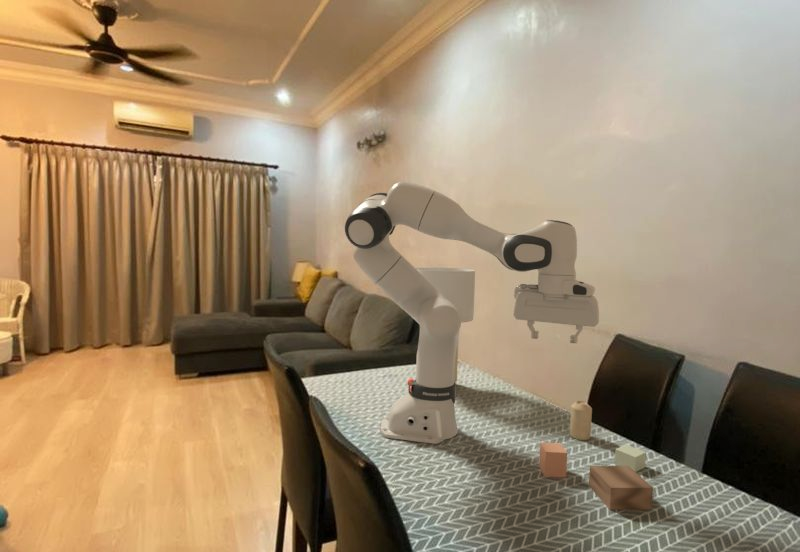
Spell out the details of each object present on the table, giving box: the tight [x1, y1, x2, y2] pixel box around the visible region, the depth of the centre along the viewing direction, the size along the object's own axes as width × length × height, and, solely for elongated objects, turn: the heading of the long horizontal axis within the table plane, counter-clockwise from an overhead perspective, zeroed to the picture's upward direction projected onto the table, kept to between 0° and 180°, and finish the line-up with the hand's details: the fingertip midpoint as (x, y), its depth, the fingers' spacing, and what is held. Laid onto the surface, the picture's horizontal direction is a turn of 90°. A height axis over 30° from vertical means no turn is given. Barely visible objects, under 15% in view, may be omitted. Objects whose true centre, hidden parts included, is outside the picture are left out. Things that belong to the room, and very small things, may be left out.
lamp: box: [415, 267, 476, 383], centre depth 169 cm, size 23×23×44 cm
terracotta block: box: [538, 442, 568, 478], centre depth 108 cm, size 5×5×6 cm
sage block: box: [614, 444, 647, 473], centre depth 111 cm, size 5×5×4 cm
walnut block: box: [588, 465, 654, 511], centre depth 97 cm, size 9×9×5 cm
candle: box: [569, 400, 593, 441], centre depth 128 cm, size 6×6×10 cm
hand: (553, 340), depth 112 cm, fingers open, 8 cm apart
